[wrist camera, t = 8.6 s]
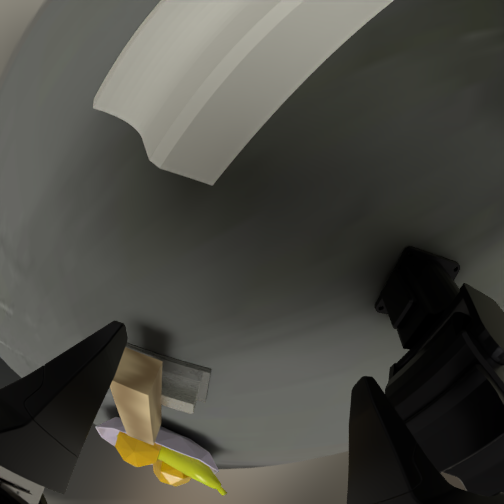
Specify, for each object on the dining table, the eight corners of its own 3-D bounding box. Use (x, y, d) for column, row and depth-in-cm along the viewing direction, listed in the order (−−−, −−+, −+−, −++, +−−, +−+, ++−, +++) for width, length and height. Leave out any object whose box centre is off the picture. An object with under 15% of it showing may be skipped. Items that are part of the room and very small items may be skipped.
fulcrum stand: (211, 369, 29) (203, 397, 25) (206, 398, 33) (199, 422, 29) (103, 333, 29) (89, 356, 25) (114, 368, 33) (103, 389, 29)
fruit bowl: (114, 428, 52) (100, 462, 42) (99, 386, 38) (74, 435, 28) (216, 464, 53) (208, 499, 44) (248, 438, 40) (239, 493, 30)
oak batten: (162, 361, 23) (148, 395, 19) (161, 423, 32) (153, 445, 28) (124, 346, 23) (107, 378, 19) (136, 413, 32) (127, 435, 28)
